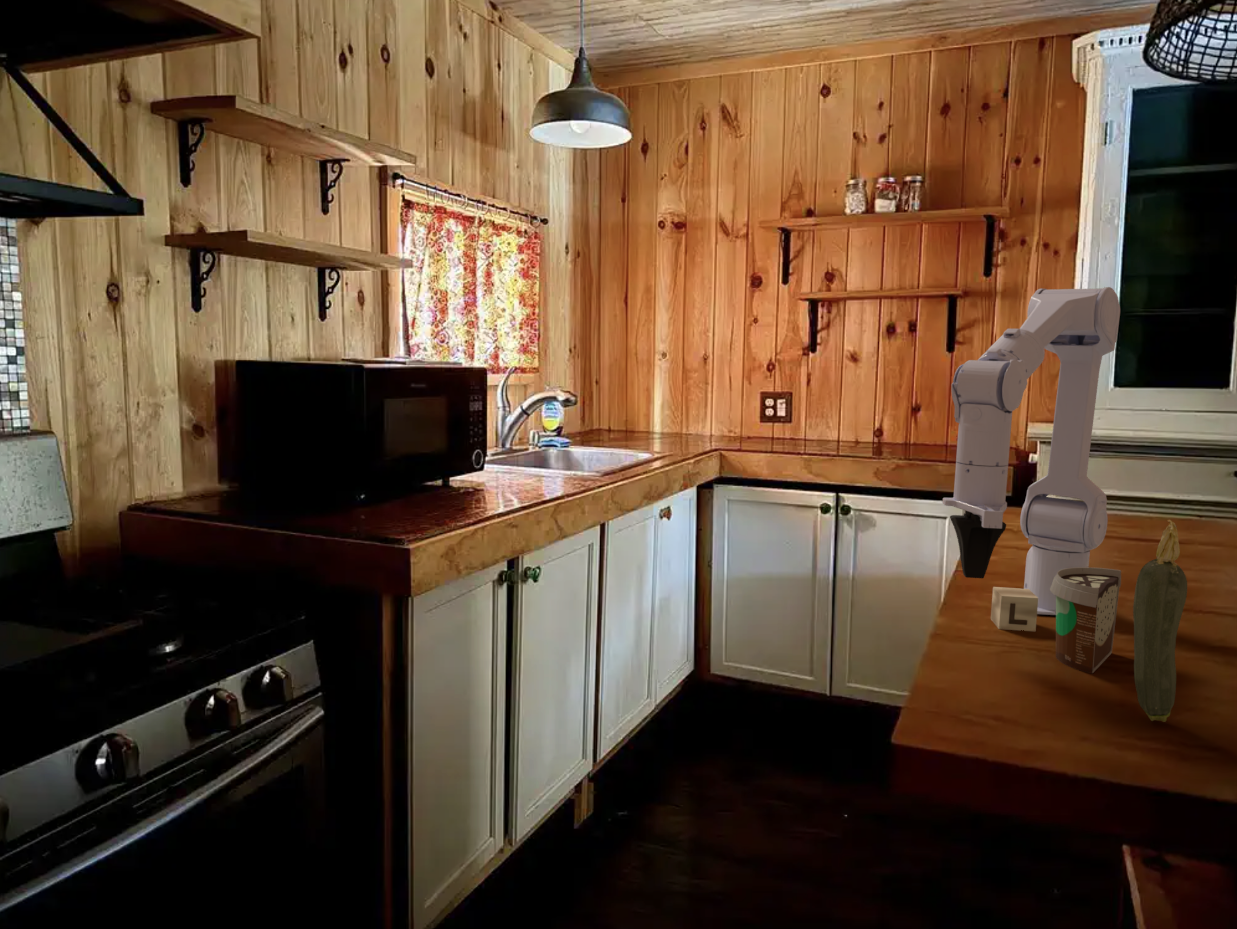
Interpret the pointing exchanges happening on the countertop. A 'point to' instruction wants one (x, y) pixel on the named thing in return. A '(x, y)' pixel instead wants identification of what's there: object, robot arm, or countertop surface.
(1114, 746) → the countertop surface
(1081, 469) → the robot arm
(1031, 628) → the letter cube
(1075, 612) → the food container
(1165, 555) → the vegetable
